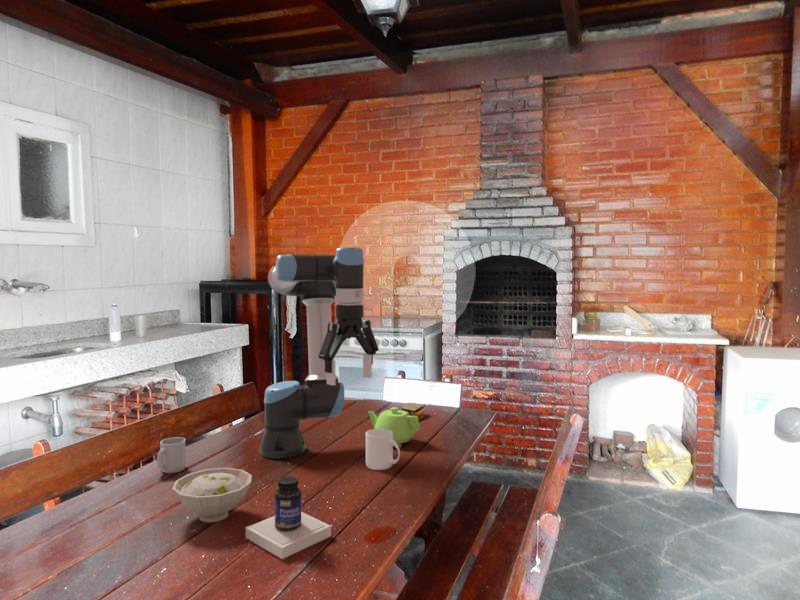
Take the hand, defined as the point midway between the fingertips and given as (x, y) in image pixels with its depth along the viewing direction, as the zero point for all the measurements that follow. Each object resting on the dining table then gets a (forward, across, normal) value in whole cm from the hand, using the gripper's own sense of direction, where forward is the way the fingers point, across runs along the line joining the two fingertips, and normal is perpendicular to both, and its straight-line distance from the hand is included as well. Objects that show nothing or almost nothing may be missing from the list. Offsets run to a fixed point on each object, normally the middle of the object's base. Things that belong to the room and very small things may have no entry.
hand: (349, 380), depth 155 cm
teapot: (+32, +41, +21) cm, 56 cm away
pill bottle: (+29, -27, -8) cm, 40 cm away
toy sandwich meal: (+32, +70, +39) cm, 86 cm away
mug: (+32, +21, +7) cm, 39 cm away
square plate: (+32, -27, -8) cm, 42 cm away
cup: (+32, -26, +53) cm, 67 cm away
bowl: (+32, -33, +15) cm, 48 cm away
